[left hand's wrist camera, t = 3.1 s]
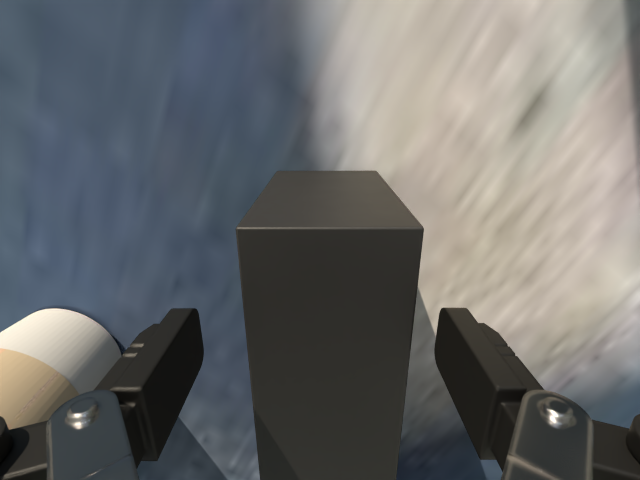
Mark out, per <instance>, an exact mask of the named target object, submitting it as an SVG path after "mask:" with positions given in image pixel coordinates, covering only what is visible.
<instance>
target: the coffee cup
mask: <svg viewBox="0 0 640 480" xmlns="http://www.w3.org/2000/svg"><path fill="white" fill-rule="evenodd" d="M120 357H122V356H121V352H120V349H119V347H118V345H117V343H116V342H115V340H114V339H113V337H112V336H111V335H110V334H109V333H108V332H107V331H106V330H105V329H104V328H103V327H102V326H101V325H100V324H98V323H97V322H95V321H94V320H92V319H90V318H89V317H87V316H85V315H82V314H80V313H77V312H74V311H70V310H65V309H45V310H40V311H37V312H35V313H32V314H31V315H29V316H27V317H26V318H24V319H22V320H21V321H19V322H17V323H16V324H14V325H12V326H11V327H9V328H7V329H6V330H4V331H2V332H1V333H0V416H1V417H3V418H4V419H5V421H6V424H7V426H8V428H9V430H10V429H14V428H18V427H23V426H27V425H31V424H35V423H39V422H43V421H47V420H49V418H50V417H51V415H52V414H53V413H54V412H55V411H56V410H57V409H58V408H59V407H60V406H61V405H62V404H64V403H65V402H67V401H68V400H70V399H72V398H74V397H75V396H78V395H80V394H83V393H86V392H89V391H93V390H94V389H95V388H96V386H97V385H98V384H99V383H100V382H101V380H102V379H103V378H104V377H105V375H106V374H107V373H108V372H109V371H110V369H111V368H112V367H113V366H114V364H115V363H116V362H117V361H118V359H119V358H120Z"/></svg>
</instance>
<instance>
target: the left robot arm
mask: <svg viewBox="0 0 640 480" xmlns="http://www.w3.org/2000/svg"><path fill="white" fill-rule="evenodd" d="M203 355H204V348H203V340H202V333H201V326H200V319H199V313H198V311H197V309H195V308H173V309H171V310H170V311H169V312H168V314H167V315H166V316H165V318H164V319H163V320H162V321H161V323H160V324H153V325H152V326H150V327H149V328H147V329H146V330H144V331H143V332H141V333H140V334H139V335H138V336H137V337H136V339H135V340H134V341H133V342H132V344H131V345H130V347H128V348H127V350H126V351H125V352H124V353H123V355H122V357H120V358H119V359H118V361H117V362H116V363H115V364H114V366H113V367H112V368H111V369H110V371H109V372H108V373H107V374H106V375H105V377H104V378H103V379H102V380H101V382H100V383H99V384H98V385H97V386H96V388H95V389H94V390H93V391H89V392H86V393H83V394H80V395H78V396H75V397H74V398H72V399H70V400H68V401H67V402H65V403H64V404H62V405H61V406H60V407H59V408H58V409H57V410H56V411H55V412H54V413H53V414H52V415H51V417H50V418H49V420H47V421H43V422H39V423H35V424H31V425H27V426H23V427H18V428H14V429H10V430H9V428H8V426H7V424H6V421H5V419H4V418H3V417H1V416H0V480H139V477H138V473H137V470H136V469H137V467H138V465H139V463H140V461H157V460H158V458H159V456H160V454H161V452H162V450H163V448H164V445H165V443H166V441H167V439H168V437H169V435H170V433H171V430H172V428H173V426H174V424H175V422H176V420H177V418H178V415H179V413H180V411H181V409H182V407H183V405H184V403H185V400H186V398H187V396H188V394H189V392H190V390H191V388H192V385H193V383H194V381H195V379H196V377H197V375H198V373H199V370H200V368H201V365H202V362H203ZM435 360H436V364H437V367H438V369H439V371H440V374H441V376H442V378H443V380H444V382H445V384H446V387H447V389H448V391H449V393H450V395H451V397H452V400H453V402H454V404H455V406H456V408H457V410H458V413H459V415H460V417H461V419H462V421H463V423H464V426H465V428H466V430H467V432H468V434H469V436H470V439H471V441H472V443H473V445H474V447H475V449H476V452H477V454H478V456H479V458H480V460H497V462H498V464H499V466H500V468H501V470H502V471H503V473H502V477H501V480H640V414H639V415H637V416H635V417H634V419H633V421H632V424H631V426H630V429H628V428H624V427H620V426H616V425H612V424H607V423H603V422H599V421H595V420H591V418H590V417H589V415H588V414H587V413H586V412H585V411H584V410H583V409H582V408H581V407H580V406H579V405H578V404H576V403H575V402H573V401H572V400H570V399H568V398H566V397H565V396H562V395H560V394H557V393H554V392H551V391H546V390H544V389H543V388H542V386H541V385H540V384H539V383H538V382H537V380H536V379H535V378H534V377H533V375H532V374H531V373H530V372H529V370H528V369H527V368H526V367H525V365H524V364H523V363H522V362H521V360H520V359H519V358H518V357H517V356H515V353H514V352H513V351H512V349H511V348H510V347H508V346H507V343H506V342H505V341H504V339H503V338H502V337H501V336H500V334H499V333H498V332H496V331H495V330H493V329H492V328H490V327H489V326H487V325H486V324H484V323H478V322H477V321H476V320H475V318H474V317H473V316H472V314H471V313H470V312H469V310H468V309H467V308H442V309H441V310H440V314H439V320H438V327H437V334H436V341H435Z"/></svg>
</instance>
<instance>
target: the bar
mask: <svg viewBox="0 0 640 480" xmlns="http://www.w3.org/2000/svg"><path fill="white" fill-rule="evenodd" d="M423 232H424V228H423V226H422V225H421V224H420V223H419V222H418V220H417V219H416V218H415V217H414V216H413V214H412V213H411V212H410V211H409V210H408V208H407V207H406V206H405V205H404V204H403V202H402V201H401V200H400V199H399V198H398V196H397V195H396V194H395V193H394V192H393V190H392V189H391V188H390V187H389V186H388V184H387V183H386V182H385V181H384V180H383V178H382V177H381V176H380V175H379V174H378V172H377V171H277V172H276V173H275V175H274V176H273V178H272V179H271V180H270V182H269V183H268V185H267V186H266V187H265V189H264V190H263V191H262V193H261V194H260V196H259V197H258V198H257V200H256V201H255V202H254V204H253V205H252V207H251V208H250V209H249V211H248V212H247V213H246V215H245V216H244V218H243V219H242V220H241V222H240V223H239V225H238V226H237V227H236V237H237V247H238V257H239V267H240V278H241V288H242V298H243V308H244V318H245V329H246V339H247V349H248V359H249V369H250V380H251V390H252V400H253V410H254V420H255V431H256V441H257V451H258V461H259V471H260V480H396V475H397V466H398V457H399V448H400V439H401V430H402V421H403V412H404V403H405V394H406V385H407V376H408V367H409V358H410V349H411V340H412V331H413V322H414V313H415V304H416V295H417V286H418V277H419V268H420V259H421V250H422V241H423Z"/></svg>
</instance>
